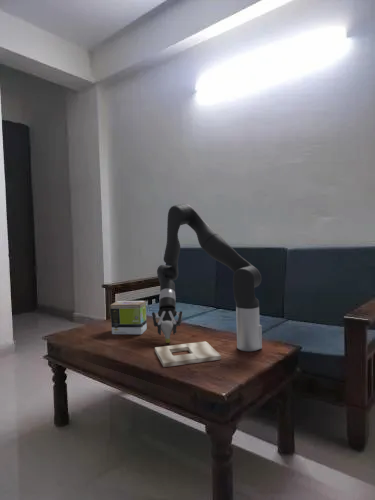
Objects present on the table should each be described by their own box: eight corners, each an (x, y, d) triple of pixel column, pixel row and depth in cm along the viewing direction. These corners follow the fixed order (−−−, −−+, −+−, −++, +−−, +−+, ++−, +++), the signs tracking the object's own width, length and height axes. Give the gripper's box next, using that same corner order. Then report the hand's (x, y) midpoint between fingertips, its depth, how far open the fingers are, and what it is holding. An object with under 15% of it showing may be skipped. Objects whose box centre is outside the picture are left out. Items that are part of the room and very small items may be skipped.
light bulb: (164, 340, 159) (163, 318, 159) (175, 341, 158) (174, 319, 157) (159, 344, 154) (158, 322, 154) (171, 345, 153) (170, 322, 152)
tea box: (147, 329, 179) (146, 300, 178) (141, 335, 169) (139, 304, 168) (118, 328, 182) (117, 300, 181) (111, 334, 172) (109, 304, 171)
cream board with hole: (206, 344, 152) (205, 341, 152) (220, 359, 135) (220, 355, 135) (155, 351, 146) (154, 347, 146) (163, 367, 129) (163, 363, 129)
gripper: (151, 296, 162) (149, 330, 151) (182, 295, 162) (183, 329, 151) (152, 305, 168) (151, 338, 157) (183, 304, 168) (183, 337, 157)
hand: (167, 333), depth 154 cm, fingers closed on light bulb, 5 cm apart
